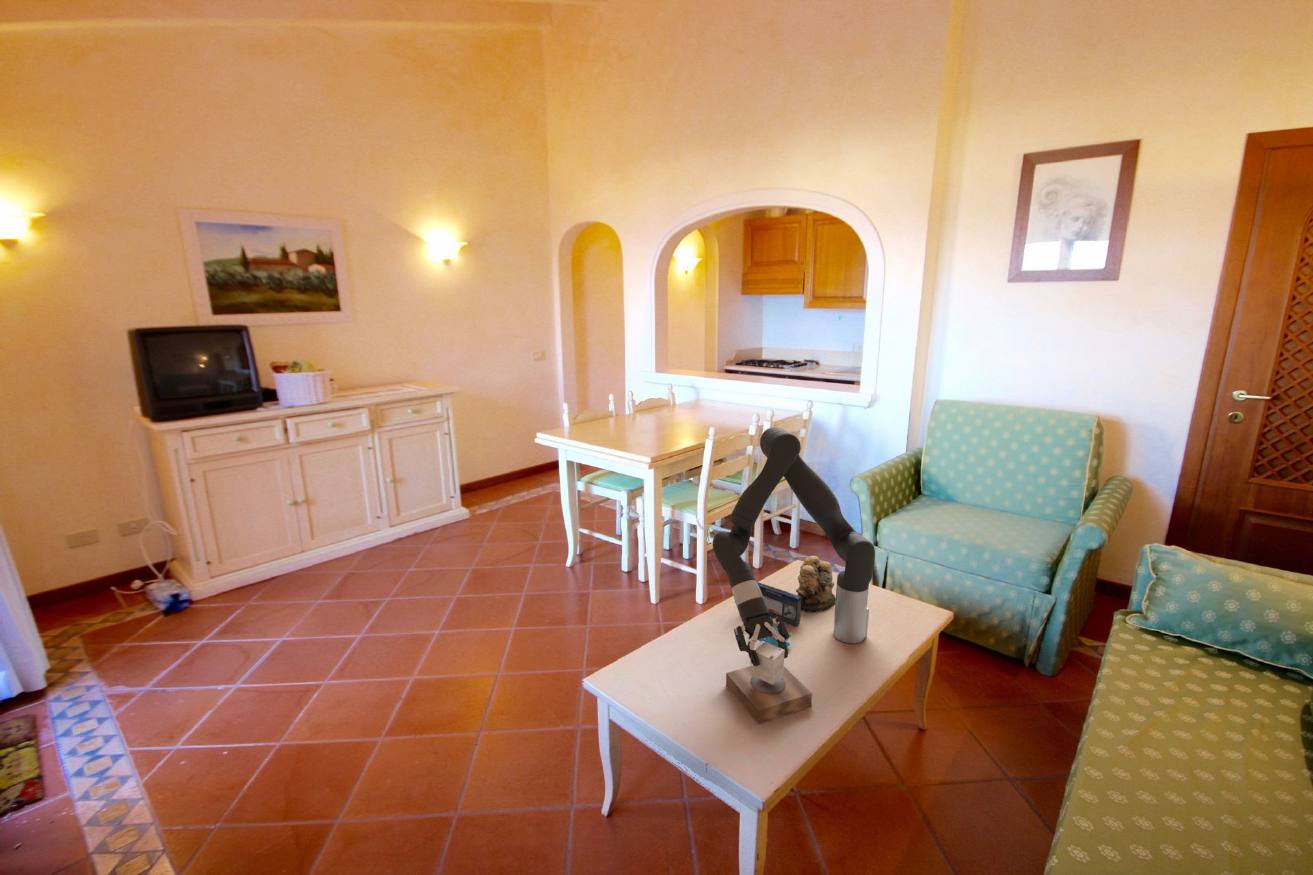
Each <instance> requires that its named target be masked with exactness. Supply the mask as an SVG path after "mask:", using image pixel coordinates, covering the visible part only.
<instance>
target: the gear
mask: <svg viewBox="0 0 1313 875" xmlns="http://www.w3.org/2000/svg"><path fill="white" fill-rule="evenodd" d="M773 628H774V629H775V630H776V631H778V629H777V627H776V626H773ZM778 633H779V632H778ZM788 633H789V638H787V639H786V640H785V645H786V647H787V648H788V647H789V646H790V645H791V643H790V642H788V640H790V638H791V637H793V633H791V632H788ZM758 641H759V642H768V643H770V644H772V645H774V646H777V645H778V644H777V643H776V642H775V641H774V640H772V639H770V638H769V637H767V638H761V639H759V640H758ZM777 647H778V646H777Z"/></svg>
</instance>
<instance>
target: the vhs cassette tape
mask: <svg viewBox="0 0 1313 875" xmlns="http://www.w3.org/2000/svg"><path fill="white" fill-rule="evenodd" d="M756 582H757V584H758V586H759V588H760V590H761V593H762V596H763V598H764V601H765V604H766V606H767V609H768V612H769V616H770V618H771V619H774V618H776V617H778V616H781V617H782V620H783V622H784V624H786V625H789V626H792V627H795V628H797V627H798V626H800V624H801V611H802V610H801V603H800V602H801V596H797V595H798V594H795V593H792V592H789V591H786V590H783V589H780V588H775V587H773V586H770V585H767V584H765V583H762V582H758V581H756Z"/></svg>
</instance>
